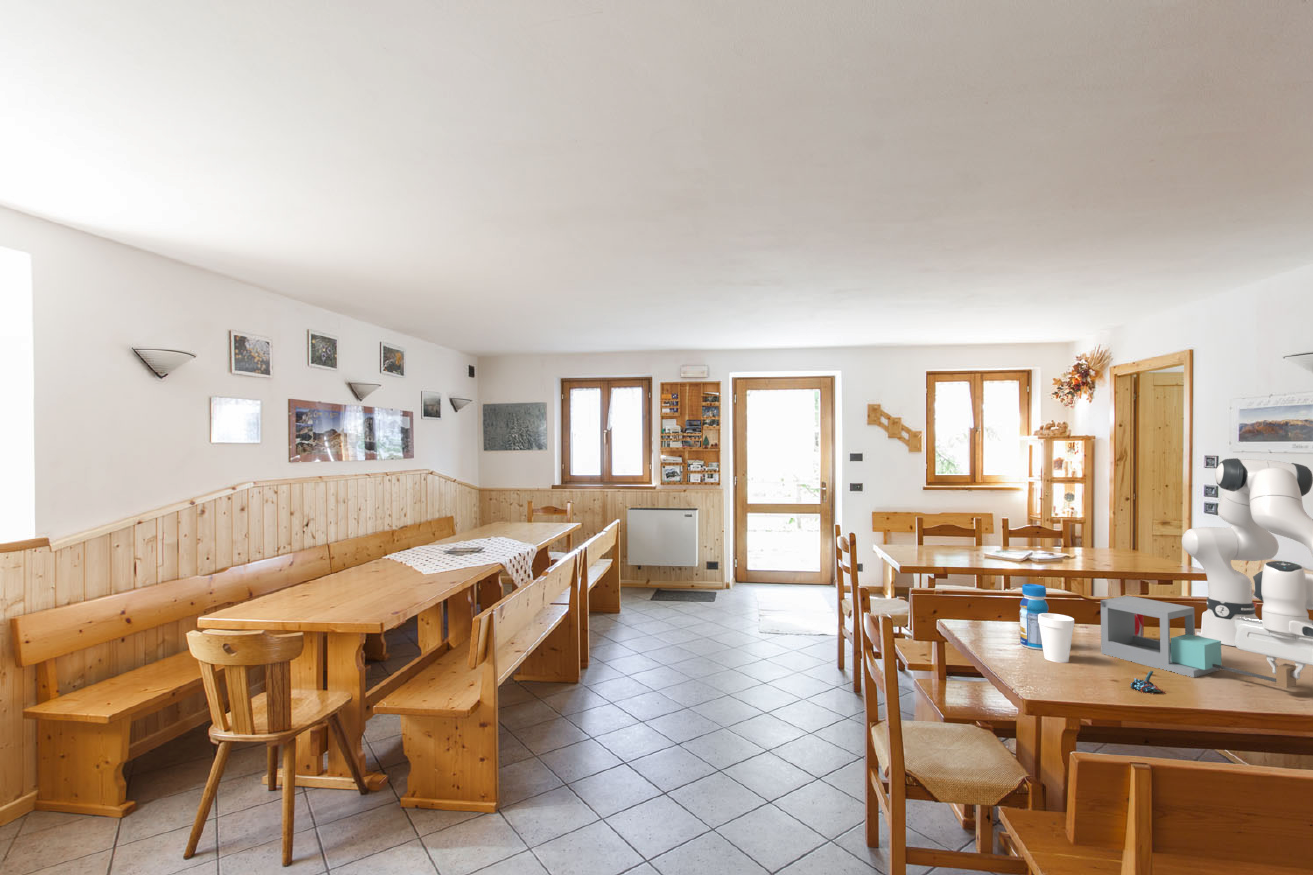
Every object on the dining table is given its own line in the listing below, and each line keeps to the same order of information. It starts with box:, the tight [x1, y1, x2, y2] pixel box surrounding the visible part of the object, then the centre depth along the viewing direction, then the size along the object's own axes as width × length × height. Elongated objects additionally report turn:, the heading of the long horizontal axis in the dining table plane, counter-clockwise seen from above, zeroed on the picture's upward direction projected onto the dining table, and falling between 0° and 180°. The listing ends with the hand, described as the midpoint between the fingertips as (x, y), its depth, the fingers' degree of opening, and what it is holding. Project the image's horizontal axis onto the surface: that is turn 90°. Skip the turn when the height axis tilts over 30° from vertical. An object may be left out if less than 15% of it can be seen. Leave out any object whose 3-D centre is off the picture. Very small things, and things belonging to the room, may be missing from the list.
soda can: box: [1135, 613, 1145, 637], centre depth 213 cm, size 7×7×12 cm
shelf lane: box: [1100, 595, 1221, 678], centre depth 191 cm, size 16×24×17 cm, turn 27°
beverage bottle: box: [1019, 583, 1049, 651], centre depth 205 cm, size 8×8×20 cm
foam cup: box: [1038, 612, 1075, 664], centre depth 192 cm, size 10×9×13 cm
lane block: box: [1170, 634, 1297, 689], centre depth 175 cm, size 10×24×7 cm, turn 27°
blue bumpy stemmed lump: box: [1129, 670, 1166, 695], centre depth 166 cm, size 8×7×8 cm
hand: (1286, 675), depth 165 cm, fingers closed on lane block, 2 cm apart
